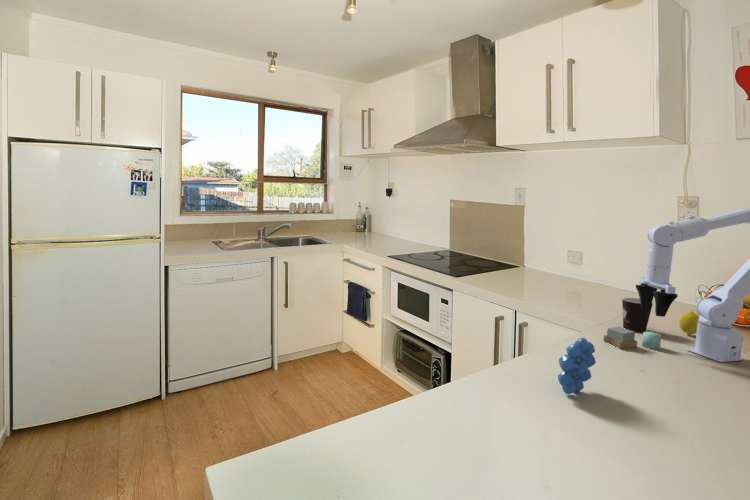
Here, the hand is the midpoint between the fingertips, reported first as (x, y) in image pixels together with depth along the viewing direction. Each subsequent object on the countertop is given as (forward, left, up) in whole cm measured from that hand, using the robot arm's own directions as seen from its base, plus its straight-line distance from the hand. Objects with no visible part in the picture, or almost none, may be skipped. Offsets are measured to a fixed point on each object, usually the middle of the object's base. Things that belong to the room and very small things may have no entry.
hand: (652, 312), depth 117 cm
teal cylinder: (0, 0, -10) cm, 10 cm away
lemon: (+7, -23, -11) cm, 27 cm away
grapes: (-20, +44, -11) cm, 49 cm away
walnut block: (+3, +8, -11) cm, 14 cm away
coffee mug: (+16, -11, -11) cm, 22 cm away
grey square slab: (+3, +8, -8) cm, 12 cm away
